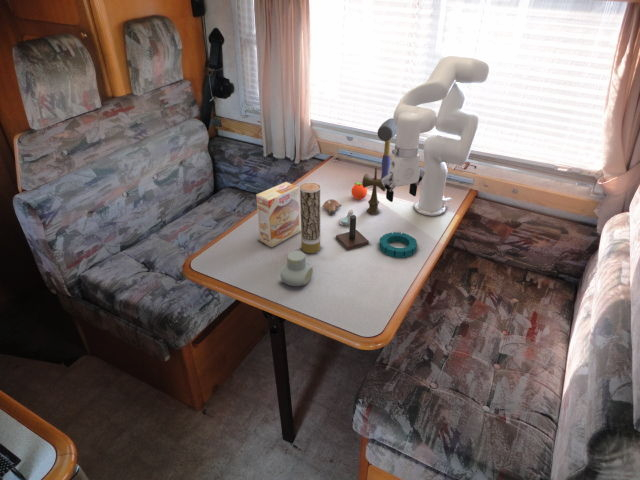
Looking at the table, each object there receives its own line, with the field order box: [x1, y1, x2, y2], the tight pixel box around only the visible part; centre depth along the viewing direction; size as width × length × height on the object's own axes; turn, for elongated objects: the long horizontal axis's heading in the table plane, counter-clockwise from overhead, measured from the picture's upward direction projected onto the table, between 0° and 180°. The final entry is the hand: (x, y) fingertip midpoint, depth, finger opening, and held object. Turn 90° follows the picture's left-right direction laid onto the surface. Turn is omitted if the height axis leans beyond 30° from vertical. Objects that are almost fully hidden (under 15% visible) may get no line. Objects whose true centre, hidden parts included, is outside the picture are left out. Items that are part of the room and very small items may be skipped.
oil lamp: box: [322, 198, 342, 216], centre depth 186 cm, size 9×4×8 cm
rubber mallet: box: [376, 117, 397, 182], centre depth 201 cm, size 12×8×30 cm, turn 156°
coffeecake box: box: [255, 181, 300, 248], centre depth 164 cm, size 15×7×20 cm, turn 137°
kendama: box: [361, 167, 388, 215], centre depth 180 cm, size 6×10×20 cm, turn 69°
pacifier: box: [338, 209, 358, 226], centre depth 177 cm, size 7×6×6 cm
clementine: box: [350, 182, 368, 200], centre depth 195 cm, size 8×7×7 cm
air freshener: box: [279, 250, 314, 287], centre depth 144 cm, size 11×8×10 cm
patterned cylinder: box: [299, 182, 321, 254], centre depth 156 cm, size 7×7×25 cm
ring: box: [379, 231, 418, 259], centre depth 162 cm, size 13×13×3 cm
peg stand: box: [335, 214, 370, 251], centre depth 164 cm, size 9×9×10 cm
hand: (401, 197), depth 156 cm, fingers open, 9 cm apart
